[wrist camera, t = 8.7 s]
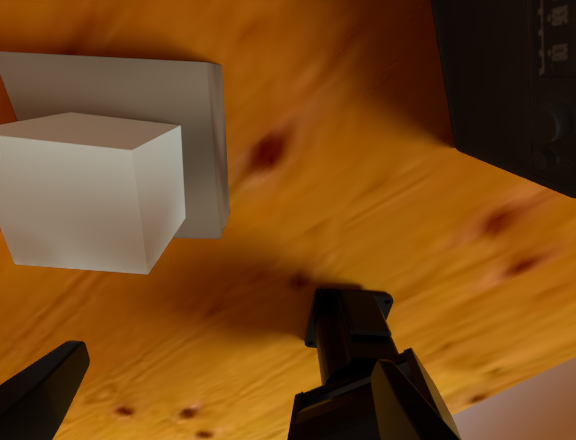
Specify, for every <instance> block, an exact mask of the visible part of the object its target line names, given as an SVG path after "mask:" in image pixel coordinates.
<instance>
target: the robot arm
mask: <svg viewBox="0 0 576 440" xmlns="http://www.w3.org/2000/svg"><path fill="white" fill-rule="evenodd" d="M320 294H323V295H321V296H320ZM387 299H388V300H387ZM385 300H386V301H385ZM392 304H393V298H392V296H391V295H390V294H384V293H372V292H360V291H348V290H336V289H323V288H320V289H317V290H316V291H315V294H314V298H313V303H312V307H311V312H310V316H309V321H308V325H307V330H306V334H305V339H304V341H305V346H307V347H312V348H317V352H318V359H319V366H320V373H321V381H322V386H320V387H317V388H315V389H312V390H310V391H307V392H305V393H303V392H301V393H299V394H296V395H295V399H294V405H293V411H292V416H291V422H290V428H289V433H288V439H287V440H461V437H460V435H459V432H458V430H457V427H456V425H455V422H454V420H453V418H452V416H451V414H450V412H449V410H448V408H447V406H446V405H445V403H444V401H443V399H442V397H441V395H440V393H439V391H438V389H437V387H436V386H435V384H434V382H433V381H432V379H431V378H430V376H429V374H428V373H427V371H426V370H425V368H424V367H423V365H422V364H421V362H420V360H419V359H418V357H417V356H416V354H415V353H414V351H413V350H412V348H409V349H406V350H404V352H403V353H401V354H399V353H398V351H397V348H396V346H395V344H394V341H393V339H392V337H391V331H390V329H389V327H388V325H387V322H386V319H387V317H388V314H389V312H390V309H391V307H392ZM89 363H90V358H89V355H88V351H87V348H86V345H85V343H84V342H83V341H73V340H71V341H67V342H65V343H63V344H62V345H60V346H59V347H57V348H56V349H54V350H53V351H51V352H50V353H48V354H47V355H45V356H44V357H42V358H41V359H39V360H37V361H36V362H34V363H33V364H31V365H30V366H28V367H27V368H25V369H24V370H22V371H21V372H19V373H18V374H16V375H15V376H13V377H12V378H10V379H9V380H7V381H6V382H4V383H2V384H1V385H0V440H52V439H53V437H54V436H55V434H56V432H57V431H58V429H59V427H60V425H61V423H62V421H63V419H64V417H65V415H66V413H67V411H68V409H69V407H70V405H71V403H72V401H73V399H74V396H75V394H76V392H77V390H78V388H79V386H80V384H81V382H82V380H83V378H84V375H85V373H86V371H87V369H88V367H89Z"/></svg>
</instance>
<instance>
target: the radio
mask: <svg viewBox="0 0 576 440" xmlns="http://www.w3.org/2000/svg"><path fill="white" fill-rule="evenodd" d="M430 1H431V7H432V13H433V19H434V25H435V31H436V37H437V42H438V48H439V54H440V60H441V66H442V72H443V78H444V84H445V90H446V96H447V102H448V108H449V114H450V120H451V126H452V132H453V138H454V143H455V147H456V149H457V150H458V151H460V152H462V153H464V154H467V155H469V156H472V157H474V158H477V159H479V160H481V161H484V162H486V163H489V164H491V165H493V166H496V167H498V168H501V169H503V170H506V171H508V172H510V173H513V174H515V175H518V176H520V177H523V178H525V179H527V180H530V181H532V182H535V183H537V184H540V185H542V186H544V187H547V188H549V189H552V190H554V191H557V192H559V193H561V194H564V195H566V196H569V197H571V198H576V0H430Z"/></svg>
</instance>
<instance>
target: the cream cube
mask: <svg viewBox="0 0 576 440" xmlns="http://www.w3.org/2000/svg"><path fill="white" fill-rule="evenodd" d="M185 218H186V217H185V197H184V178H183V159H182V140H181V125H174V124H166V123H157V122H149V121H140V120H132V119H124V118H115V117H107V116H98V115H90V114H82V113H73V112H69V113H63V114H57V115H52V116H46V117H41V118H35V119H29V120H24V121H18V122H12V123H7V124H1V125H0V228H1V231H2V233H3V236H4V238H5V241H6V243H7V246H8V248H9V251H10V253H11V256H12V258H13V261H14V263H15V264H19V265H32V266H44V267H57V268H70V269H83V270H96V271H109V272H122V273H135V274H149V273H150V271H151V270H152V268H153V267H154V265H155V264H156V262H157V260H158V259H159V257H160V256H161V254H162V253H163V251H164V250H165V248H166V247H167V245H168V244H169V242H170V241H171V239H172V238H173V236H174V235H175V233H176V232H177V230H178V229H179V227H180V226H181V224H182V223H183V221H184V219H185Z"/></svg>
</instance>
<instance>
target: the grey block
mask: <svg viewBox="0 0 576 440" xmlns="http://www.w3.org/2000/svg"><path fill="white" fill-rule="evenodd" d="M0 75H1V78H2V81H3V83H4V86H5V89H6V91H7V94H8V97H9V99H10V102H11V105H12V107H13V110H14V112H15V115H16V118H17V120H18V121H24V120H29V119H35V118H41V117H46V116H52V115H57V114H63V113H69V112H73V113H82V114H90V115H98V116H107V117H115V118H124V119H132V120H140V121H149V122H157V123H166V124H174V125H181V140H182V159H183V178H184V197H185V217H186V218H185V219H184V221H183V223H182V224H181V226H180V227H179V229H178V230H177V232H176V233H175V235H174V236H173V238H203V239H220V238H221V235H222V232H223V230H224V227H225V224H226V221H227V219H228V216H229V213H230V206H229V188H228V169H227V151H226V133H225V115H224V97H223V79H222V65H217V64H212V63H207V62H190V61H171V60H152V59H133V58H114V57H95V56H76V55H57V54H38V53H19V52H0Z"/></svg>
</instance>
